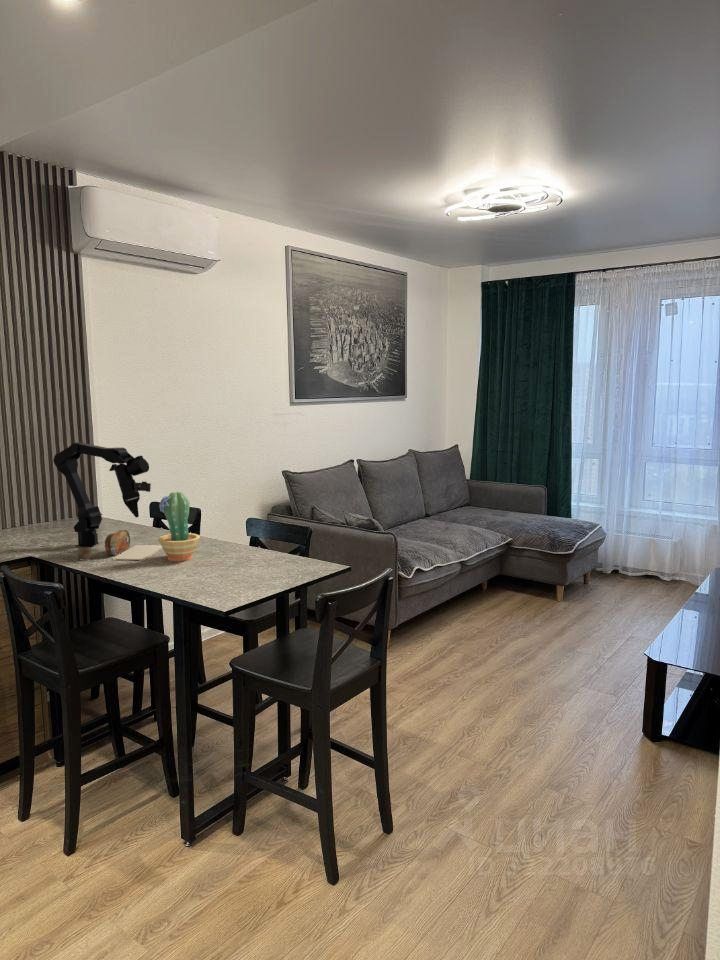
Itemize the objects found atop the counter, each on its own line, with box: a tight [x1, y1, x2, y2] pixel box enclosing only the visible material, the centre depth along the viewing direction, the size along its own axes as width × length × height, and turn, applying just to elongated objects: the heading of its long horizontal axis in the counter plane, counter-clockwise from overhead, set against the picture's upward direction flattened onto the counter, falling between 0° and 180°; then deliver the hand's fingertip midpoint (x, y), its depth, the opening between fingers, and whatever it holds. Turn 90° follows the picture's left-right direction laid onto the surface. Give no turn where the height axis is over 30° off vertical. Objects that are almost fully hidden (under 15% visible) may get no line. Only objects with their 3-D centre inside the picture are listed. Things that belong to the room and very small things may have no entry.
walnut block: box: [77, 547, 92, 561], centre depth 245 cm, size 4×4×4 cm
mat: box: [111, 544, 163, 562], centre depth 254 cm, size 12×22×1 cm, turn 176°
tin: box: [104, 529, 131, 556], centre depth 254 cm, size 15×3×8 cm, turn 172°
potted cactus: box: [157, 491, 201, 562], centre depth 246 cm, size 15×15×25 cm
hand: (137, 517), depth 258 cm, fingers open, 9 cm apart
